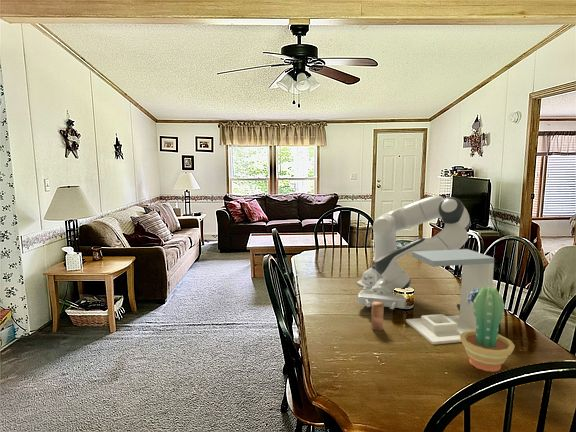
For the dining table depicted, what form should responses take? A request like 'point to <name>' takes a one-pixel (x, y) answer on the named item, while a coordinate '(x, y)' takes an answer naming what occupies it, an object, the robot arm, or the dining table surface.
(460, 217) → the robot arm
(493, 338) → the potted cactus
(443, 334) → the awning socket
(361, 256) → the dining table surface
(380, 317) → the peg
